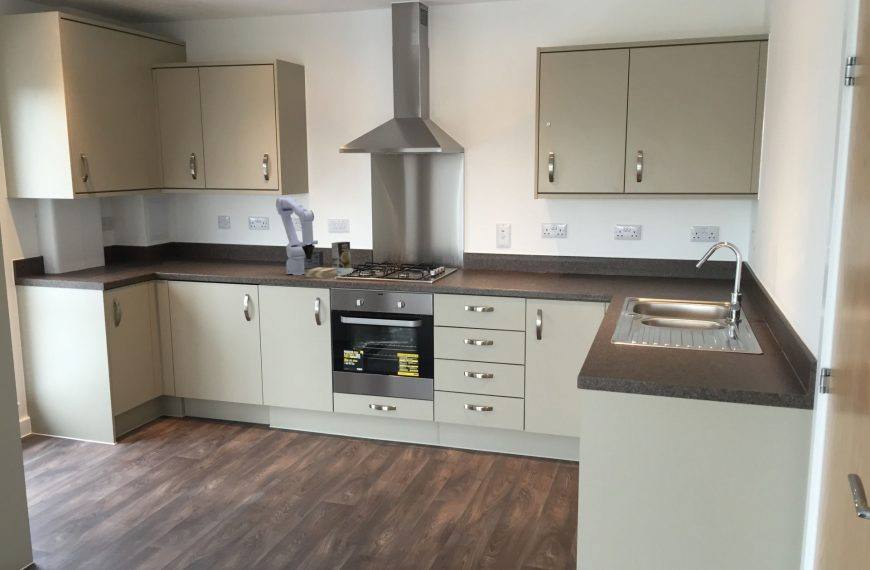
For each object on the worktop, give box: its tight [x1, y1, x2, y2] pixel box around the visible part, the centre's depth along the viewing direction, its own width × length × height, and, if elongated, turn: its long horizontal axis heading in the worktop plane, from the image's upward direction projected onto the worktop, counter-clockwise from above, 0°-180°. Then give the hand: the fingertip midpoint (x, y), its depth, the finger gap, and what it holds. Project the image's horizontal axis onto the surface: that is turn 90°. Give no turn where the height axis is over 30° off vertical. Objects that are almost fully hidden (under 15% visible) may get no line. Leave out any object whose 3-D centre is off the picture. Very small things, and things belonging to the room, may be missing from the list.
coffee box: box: [331, 241, 352, 268], centre depth 414 cm, size 9×6×16 cm
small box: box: [304, 250, 325, 270], centre depth 426 cm, size 11×6×10 cm, turn 80°
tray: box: [337, 267, 355, 277], centre depth 401 cm, size 14×11×2 cm
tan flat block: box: [305, 267, 338, 279], centre depth 393 cm, size 13×11×4 cm
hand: (308, 258), depth 390 cm, fingers closed
